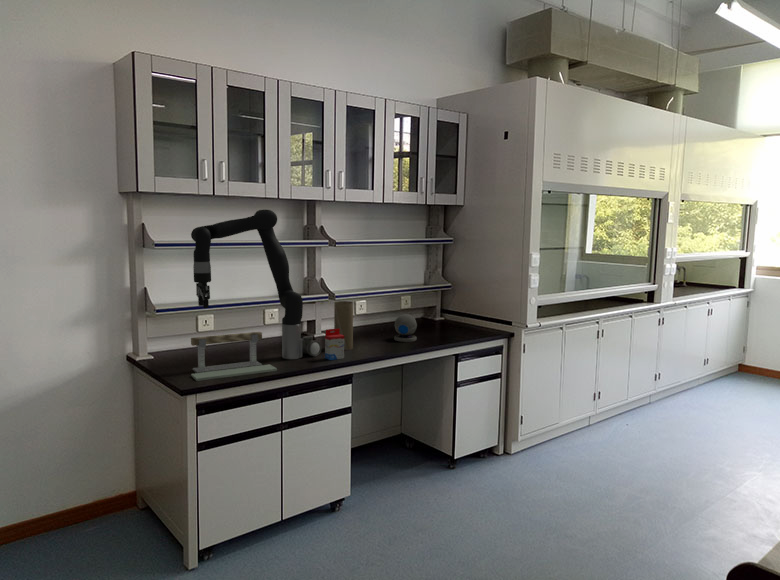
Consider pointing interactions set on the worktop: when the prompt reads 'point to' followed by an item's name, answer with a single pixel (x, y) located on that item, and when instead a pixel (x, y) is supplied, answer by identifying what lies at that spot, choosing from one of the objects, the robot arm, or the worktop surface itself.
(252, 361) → the hook stand
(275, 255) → the robot arm
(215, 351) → the worktop surface
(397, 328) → the webcam
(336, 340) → the ink box
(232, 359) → the worktop surface
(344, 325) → the tube
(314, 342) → the pipe fitting
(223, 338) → the rail
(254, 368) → the mat
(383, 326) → the worktop surface
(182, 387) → the worktop surface
